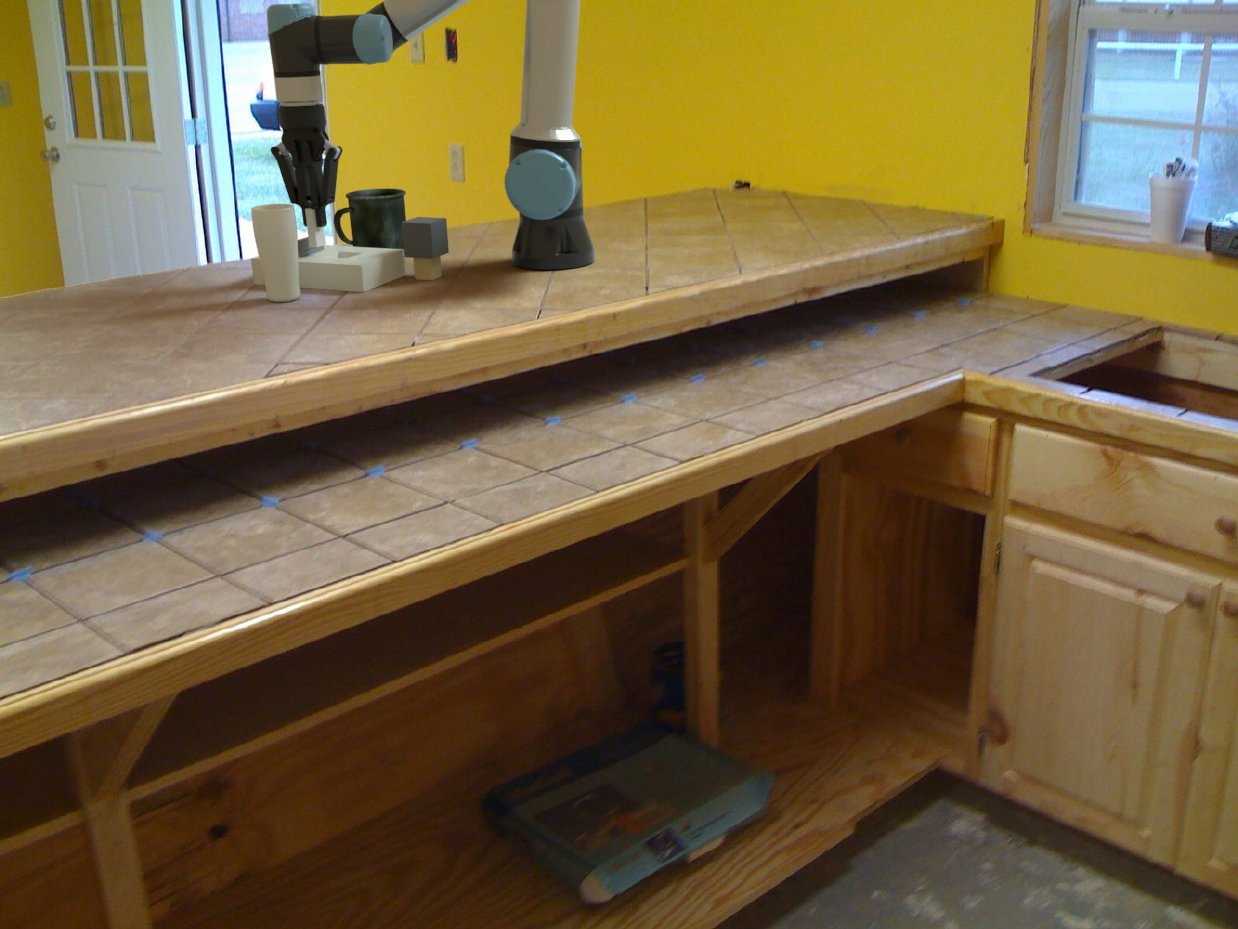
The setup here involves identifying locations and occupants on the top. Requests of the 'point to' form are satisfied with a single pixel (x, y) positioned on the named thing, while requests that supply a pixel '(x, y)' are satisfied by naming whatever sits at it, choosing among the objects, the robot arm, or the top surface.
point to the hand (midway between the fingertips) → (317, 245)
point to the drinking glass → (277, 250)
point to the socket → (345, 268)
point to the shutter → (306, 247)
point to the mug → (374, 218)
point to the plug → (425, 245)
